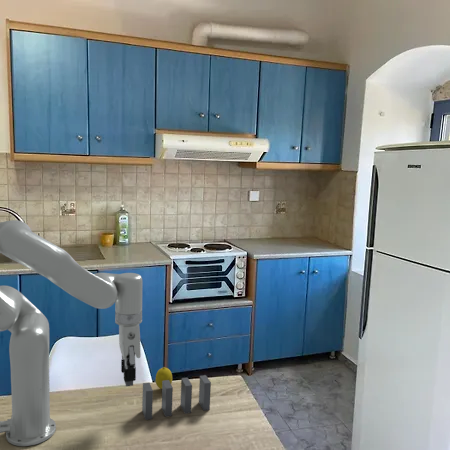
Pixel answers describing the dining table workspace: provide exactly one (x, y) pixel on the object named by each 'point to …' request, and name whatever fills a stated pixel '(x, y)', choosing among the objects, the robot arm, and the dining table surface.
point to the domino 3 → (167, 398)
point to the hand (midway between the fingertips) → (128, 375)
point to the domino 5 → (204, 392)
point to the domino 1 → (129, 381)
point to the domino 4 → (186, 395)
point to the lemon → (163, 376)
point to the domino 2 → (147, 401)
